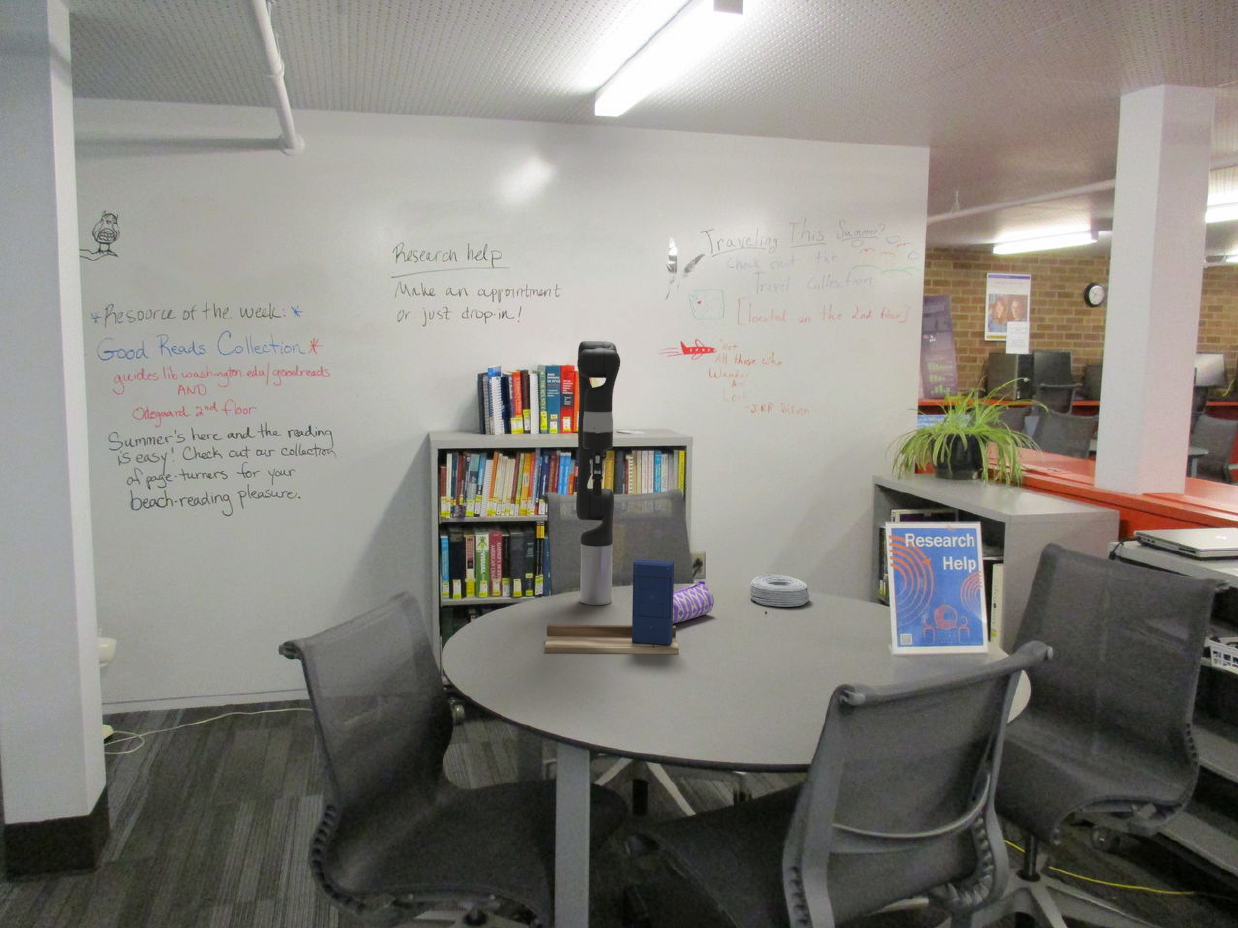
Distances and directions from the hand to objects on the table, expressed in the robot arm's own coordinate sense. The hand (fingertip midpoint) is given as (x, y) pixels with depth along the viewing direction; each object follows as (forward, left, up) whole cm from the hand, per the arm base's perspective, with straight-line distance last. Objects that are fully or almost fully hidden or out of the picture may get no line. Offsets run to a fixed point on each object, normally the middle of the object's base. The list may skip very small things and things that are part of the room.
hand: (597, 493), depth 221 cm
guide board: (+12, +4, -36) cm, 38 cm away
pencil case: (-11, +23, -36) cm, 45 cm away
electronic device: (+12, +14, -35) cm, 39 cm away
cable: (-33, +54, -37) cm, 73 cm away
